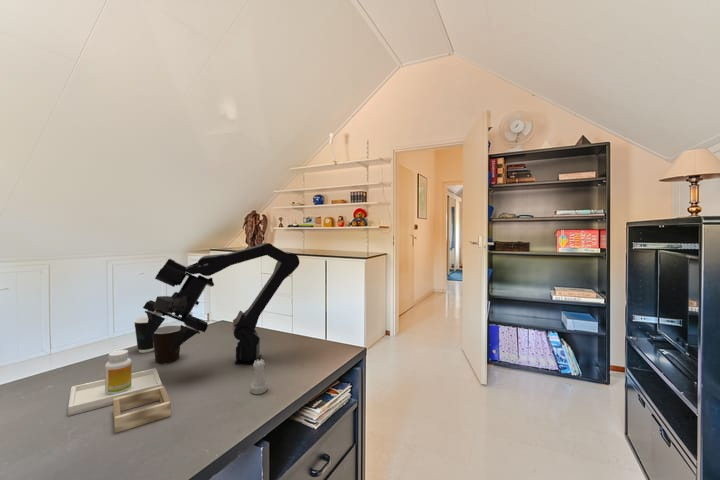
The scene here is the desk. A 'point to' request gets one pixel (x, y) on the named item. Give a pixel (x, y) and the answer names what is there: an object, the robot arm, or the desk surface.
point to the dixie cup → (143, 335)
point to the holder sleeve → (140, 415)
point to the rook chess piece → (258, 378)
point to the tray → (96, 397)
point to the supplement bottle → (118, 372)
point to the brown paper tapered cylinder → (165, 344)
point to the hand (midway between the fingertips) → (158, 345)
